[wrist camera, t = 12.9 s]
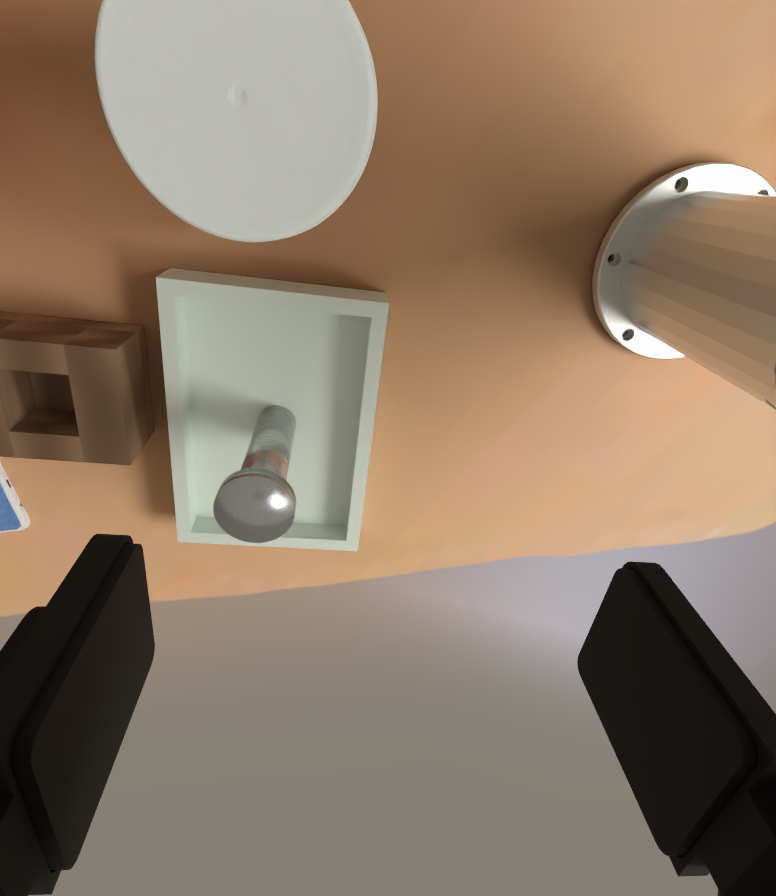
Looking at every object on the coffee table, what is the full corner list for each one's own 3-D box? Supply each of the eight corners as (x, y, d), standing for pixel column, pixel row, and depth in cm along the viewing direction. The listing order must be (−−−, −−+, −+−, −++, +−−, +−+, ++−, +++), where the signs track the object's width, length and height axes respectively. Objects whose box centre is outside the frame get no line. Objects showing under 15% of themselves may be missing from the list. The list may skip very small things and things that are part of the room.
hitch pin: (308, 398, 38) (296, 480, 28) (305, 451, 40) (293, 545, 30) (246, 392, 37) (211, 475, 27) (246, 446, 39) (214, 540, 30)
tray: (170, 267, 34) (155, 277, 31) (386, 292, 35) (389, 303, 33) (187, 518, 43) (177, 541, 40) (356, 528, 45) (357, 551, 42)
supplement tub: (355, 3, 28) (364, -128, 15) (379, 198, 32) (402, 226, 20) (175, 30, 28) (31, -76, 15) (226, 222, 33) (148, 264, 20)
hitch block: (143, 325, 35) (115, 349, 31) (154, 430, 39) (130, 465, 35) (-17, 309, 34) (-71, 332, 30) (9, 419, 38) (-34, 453, 33)
